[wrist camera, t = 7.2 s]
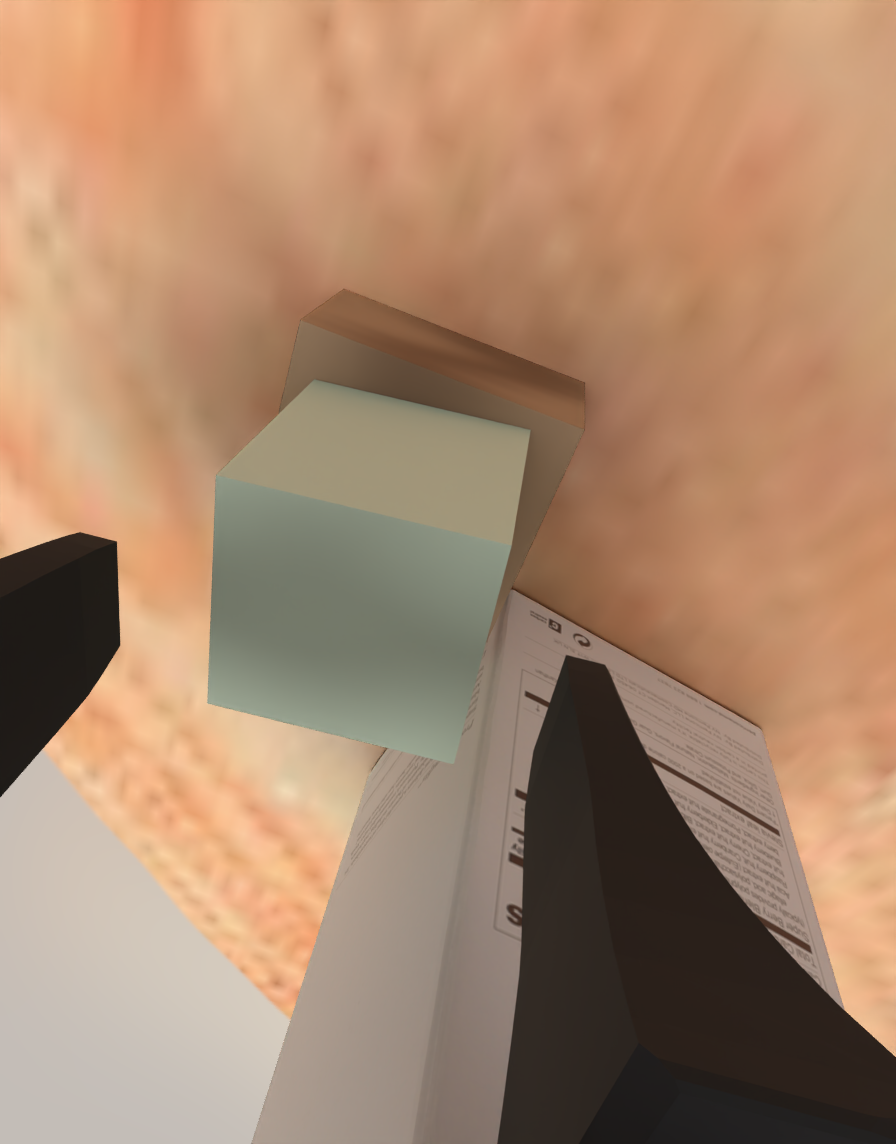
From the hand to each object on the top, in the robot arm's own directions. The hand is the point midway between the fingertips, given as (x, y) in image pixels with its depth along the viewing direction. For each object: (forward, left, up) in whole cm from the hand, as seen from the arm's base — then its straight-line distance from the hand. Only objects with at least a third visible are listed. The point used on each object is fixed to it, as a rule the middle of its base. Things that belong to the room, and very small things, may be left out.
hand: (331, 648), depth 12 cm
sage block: (0, 0, -6) cm, 6 cm away
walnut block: (0, 0, -9) cm, 9 cm away
